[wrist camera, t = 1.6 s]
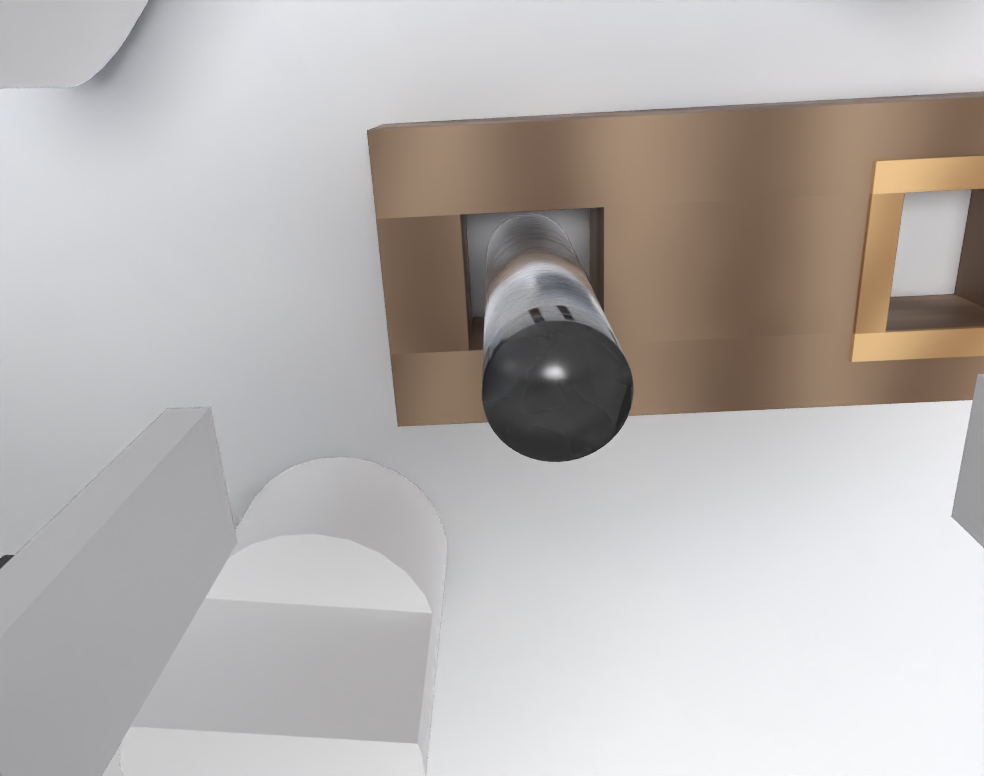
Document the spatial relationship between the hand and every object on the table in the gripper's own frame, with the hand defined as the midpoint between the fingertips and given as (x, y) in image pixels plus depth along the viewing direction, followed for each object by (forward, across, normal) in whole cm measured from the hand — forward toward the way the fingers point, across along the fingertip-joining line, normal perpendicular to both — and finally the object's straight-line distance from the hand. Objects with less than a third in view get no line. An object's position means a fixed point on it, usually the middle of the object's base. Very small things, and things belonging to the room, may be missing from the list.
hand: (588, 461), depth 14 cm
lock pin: (+17, 0, 0) cm, 17 cm away
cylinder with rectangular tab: (+17, -9, -12) cm, 23 cm away
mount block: (+17, +6, 0) cm, 18 cm away
